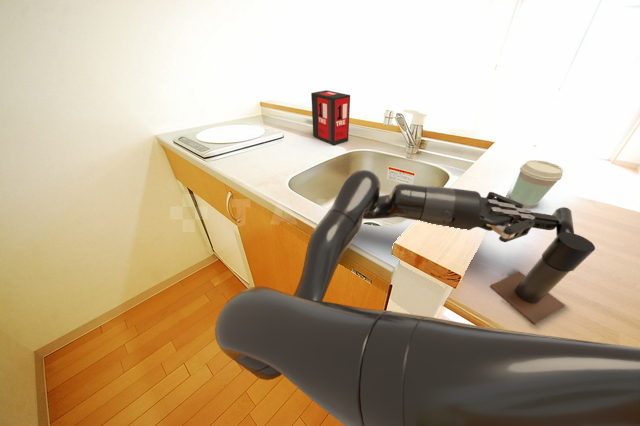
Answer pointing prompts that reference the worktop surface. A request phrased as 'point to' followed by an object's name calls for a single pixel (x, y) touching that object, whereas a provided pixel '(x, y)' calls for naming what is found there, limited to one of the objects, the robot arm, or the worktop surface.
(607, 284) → the worktop surface
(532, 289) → the base
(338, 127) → the cleaning product box
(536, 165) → the coffee cup
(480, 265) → the worktop surface
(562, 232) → the spout
